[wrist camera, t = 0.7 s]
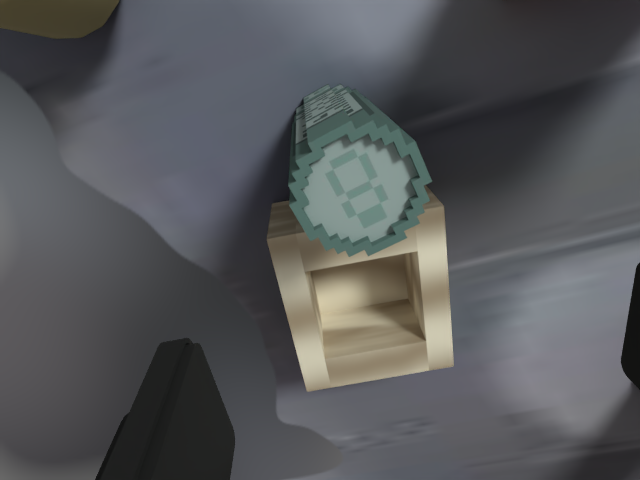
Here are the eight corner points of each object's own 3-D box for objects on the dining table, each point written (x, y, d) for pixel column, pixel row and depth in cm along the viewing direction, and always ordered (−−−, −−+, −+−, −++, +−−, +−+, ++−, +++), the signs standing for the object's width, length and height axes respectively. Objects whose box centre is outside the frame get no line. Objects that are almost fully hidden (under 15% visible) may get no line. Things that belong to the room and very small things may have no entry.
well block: (430, 316, 40) (453, 366, 34) (305, 338, 41) (307, 391, 35) (417, 175, 34) (443, 205, 28) (272, 203, 35) (266, 239, 29)
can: (317, 180, 34) (330, 274, 21) (279, 110, 32) (265, 166, 18) (386, 144, 33) (447, 218, 20) (353, 70, 31) (396, 96, 17)
